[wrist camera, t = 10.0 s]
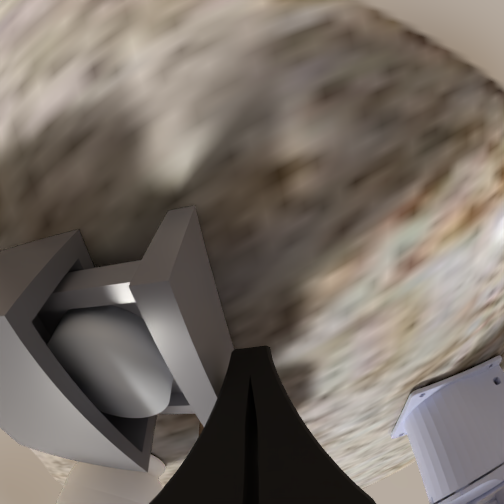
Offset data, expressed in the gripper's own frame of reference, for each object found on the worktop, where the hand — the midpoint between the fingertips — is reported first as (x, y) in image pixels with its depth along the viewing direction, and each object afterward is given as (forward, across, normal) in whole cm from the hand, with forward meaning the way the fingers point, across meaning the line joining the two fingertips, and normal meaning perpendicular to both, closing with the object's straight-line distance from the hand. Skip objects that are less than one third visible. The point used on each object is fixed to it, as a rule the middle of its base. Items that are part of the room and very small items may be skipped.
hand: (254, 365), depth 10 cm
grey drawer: (+3, +6, 0) cm, 7 cm away
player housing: (+3, +11, 0) cm, 12 cm away
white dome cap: (+1, +6, 0) cm, 6 cm away
